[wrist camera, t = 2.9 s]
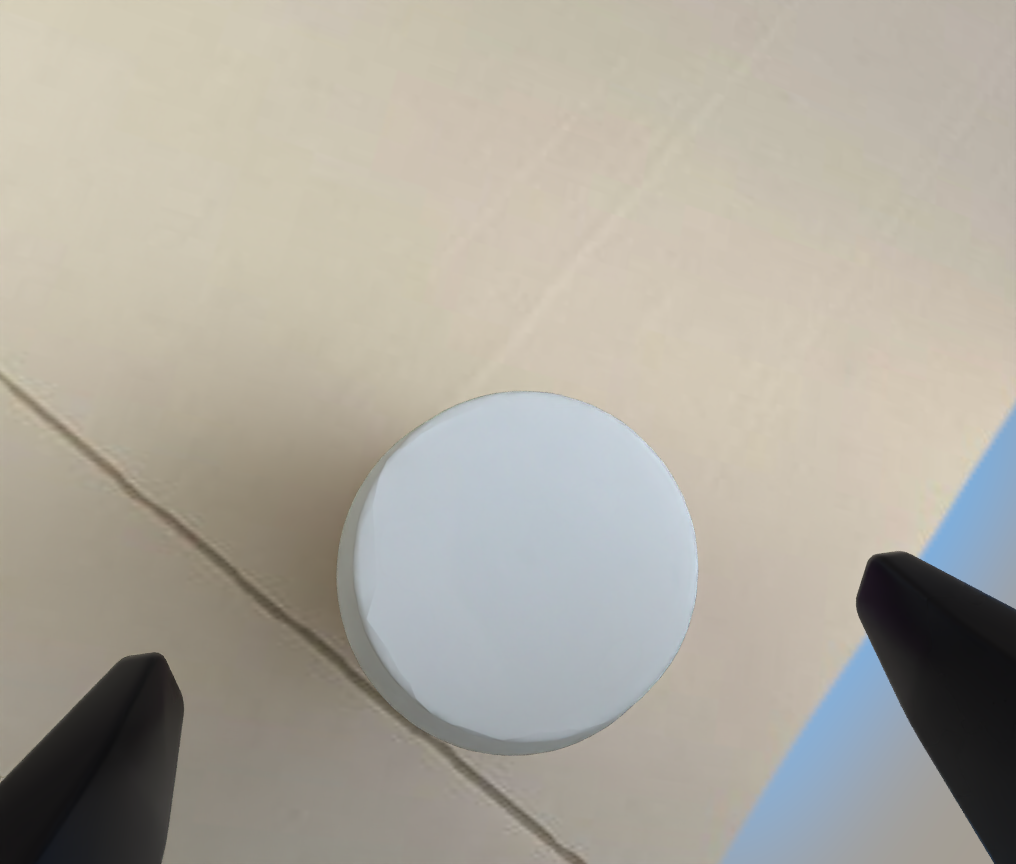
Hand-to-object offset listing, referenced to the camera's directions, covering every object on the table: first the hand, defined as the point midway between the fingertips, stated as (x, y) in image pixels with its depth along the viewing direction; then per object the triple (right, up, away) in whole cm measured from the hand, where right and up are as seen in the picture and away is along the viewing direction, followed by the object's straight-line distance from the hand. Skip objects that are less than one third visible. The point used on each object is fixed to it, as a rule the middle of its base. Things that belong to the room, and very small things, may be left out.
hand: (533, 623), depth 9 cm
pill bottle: (-1, -1, +9) cm, 9 cm away
